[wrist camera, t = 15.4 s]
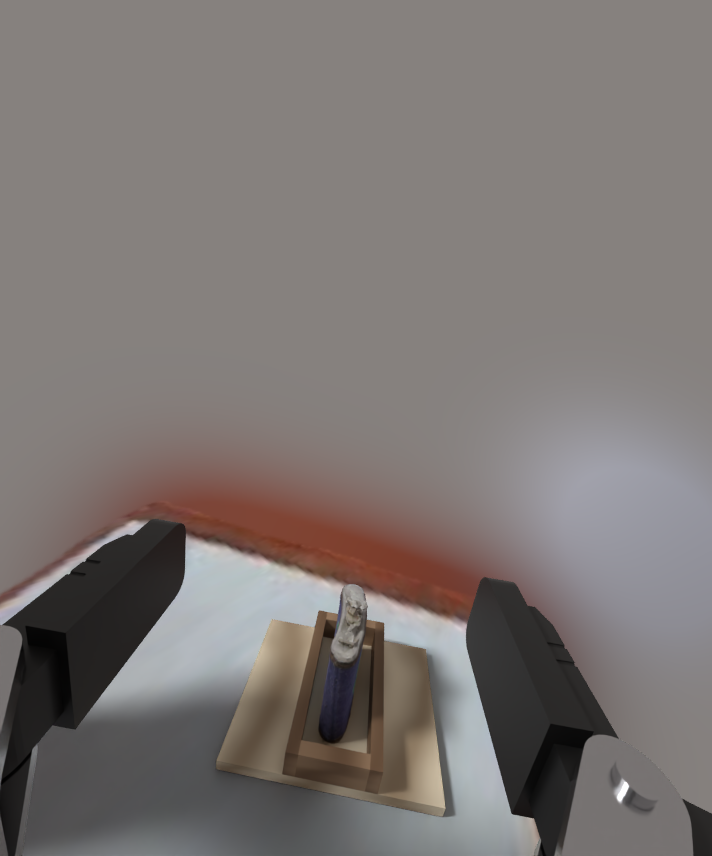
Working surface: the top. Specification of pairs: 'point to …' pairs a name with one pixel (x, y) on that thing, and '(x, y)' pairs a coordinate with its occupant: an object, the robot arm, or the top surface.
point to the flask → (343, 664)
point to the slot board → (367, 728)
